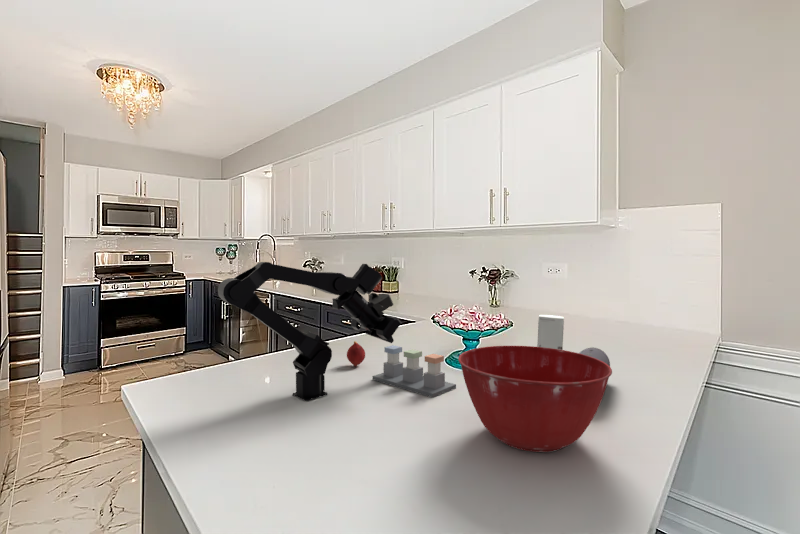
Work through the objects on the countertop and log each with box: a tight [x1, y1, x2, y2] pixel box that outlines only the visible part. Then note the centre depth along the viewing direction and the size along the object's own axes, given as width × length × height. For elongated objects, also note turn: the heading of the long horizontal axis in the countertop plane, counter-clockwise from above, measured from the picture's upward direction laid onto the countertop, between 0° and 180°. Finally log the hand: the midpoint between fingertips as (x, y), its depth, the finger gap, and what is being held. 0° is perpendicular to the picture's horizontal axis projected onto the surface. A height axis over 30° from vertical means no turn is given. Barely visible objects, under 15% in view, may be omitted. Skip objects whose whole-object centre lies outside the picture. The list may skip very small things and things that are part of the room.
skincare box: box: [536, 314, 565, 350], centre depth 142 cm, size 8×6×15 cm
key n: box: [403, 349, 423, 370], centre depth 117 cm, size 4×4×5 cm
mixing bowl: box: [457, 345, 613, 453], centre depth 84 cm, size 28×28×15 cm
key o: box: [384, 344, 403, 365], centre depth 122 cm, size 4×4×5 cm
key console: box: [372, 361, 457, 399], centre depth 117 cm, size 10×22×4 cm, turn 47°
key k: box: [424, 353, 445, 375], centre depth 112 cm, size 4×4×5 cm
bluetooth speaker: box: [578, 346, 611, 367], centre depth 110 cm, size 23×9×10 cm, turn 149°
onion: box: [346, 340, 366, 367], centre depth 135 cm, size 6×6×8 cm
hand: (392, 341), depth 121 cm, fingers closed
